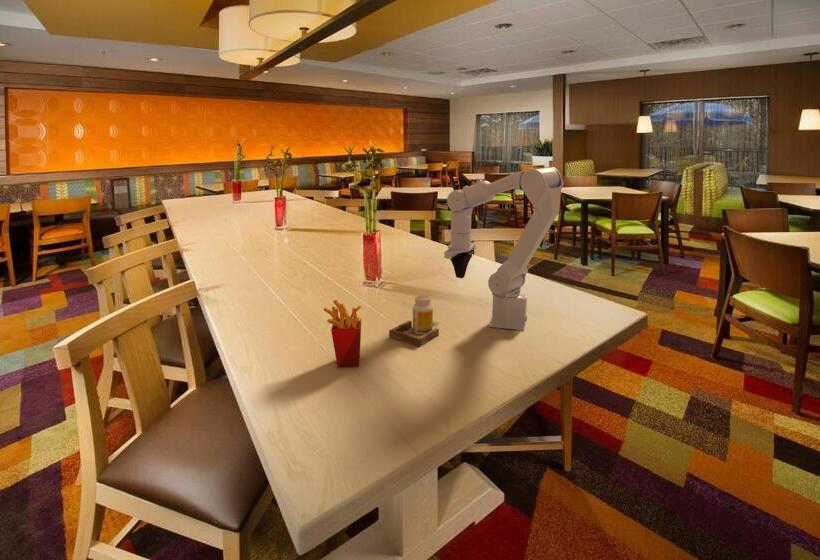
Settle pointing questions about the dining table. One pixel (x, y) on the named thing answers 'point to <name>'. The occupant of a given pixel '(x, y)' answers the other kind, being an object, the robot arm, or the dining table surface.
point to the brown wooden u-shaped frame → (417, 341)
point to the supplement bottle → (422, 315)
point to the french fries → (345, 335)
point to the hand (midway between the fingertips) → (460, 277)
